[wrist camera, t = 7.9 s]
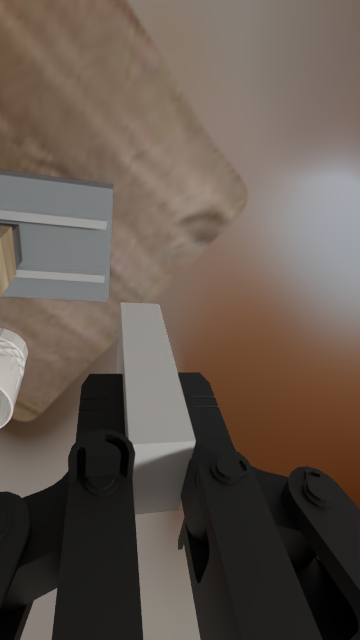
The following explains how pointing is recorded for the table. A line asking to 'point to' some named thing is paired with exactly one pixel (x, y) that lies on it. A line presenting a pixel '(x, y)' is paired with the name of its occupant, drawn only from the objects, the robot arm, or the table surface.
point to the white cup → (10, 371)
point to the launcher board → (59, 235)
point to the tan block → (9, 254)
